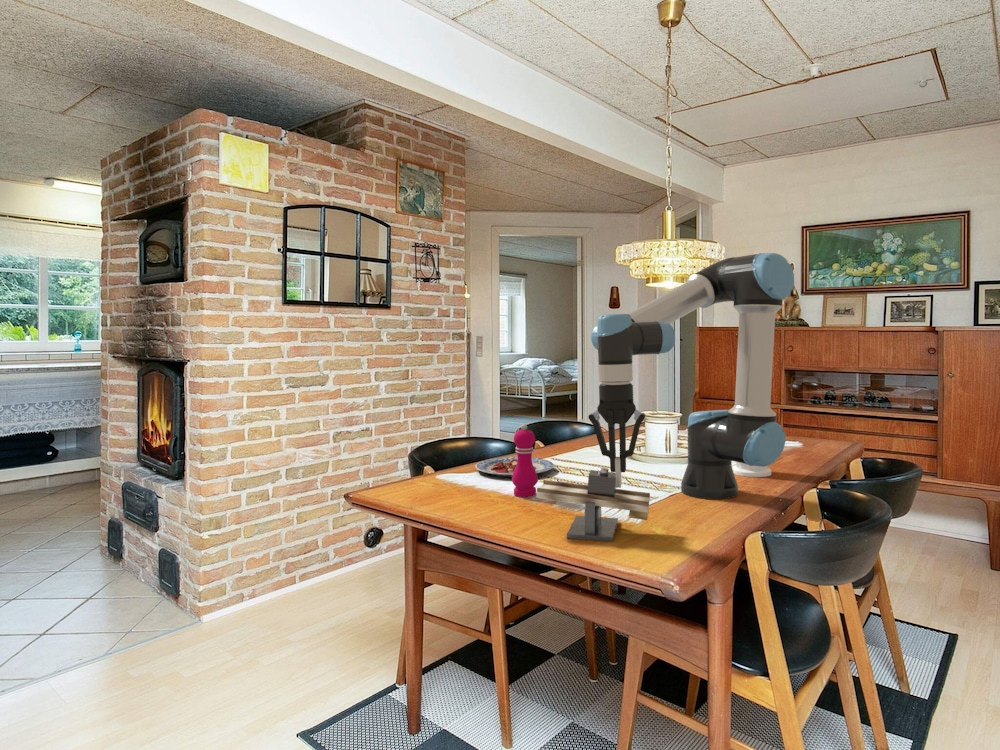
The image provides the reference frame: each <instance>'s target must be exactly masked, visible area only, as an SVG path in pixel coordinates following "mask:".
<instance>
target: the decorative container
mask: <svg viewBox="0 0 1000 750" xmlns="http://www.w3.org/2000/svg"><path fill="white" fill-rule="evenodd" d="M734 462H735V464H734V465H733V466H732V469H733V472H734V475H735V476H742V477H746V478H748V477H749V478H766V477H770V476H771V475H772V469H771V468H769V466H765V467H760V466H749V465H747V464H744V463H740V462H736V461H734Z"/></svg>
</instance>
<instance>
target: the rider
mask: <svg viewBox="0 0 1000 750" xmlns="http://www.w3.org/2000/svg"><path fill="white" fill-rule="evenodd" d="M587 479H588V481H587V485H588V491H587V494H592V495H600V496H608V497H615V492H616V489H617V488H616V475H615V472H611V471H610V469H609V468H607V467H598V468H597V470H593V469H591V470H590V471H589V474H588V478H587Z"/></svg>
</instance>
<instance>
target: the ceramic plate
mask: <svg viewBox="0 0 1000 750" xmlns="http://www.w3.org/2000/svg"><path fill="white" fill-rule="evenodd" d="M517 458H518V457H517V456H505V457H504V456H503V457H495V458H489V459H485V460H482V461H479V462H477V463H476V464H475V466H474V467H475V469H476V470H477V471H480V472H482V473H485V474H491V475H494V476H497V477H505V478H512V476H513V472H514V470H515V468H516V465H517ZM532 464H533V467H534V469H535V471H536V473H537V475H538V474H540V473H545V472H547V471H551V470H552V469H553V468H554V467H555V464H554V463H553V462H552V461H550V460H548V459H544V458H538V457H532Z"/></svg>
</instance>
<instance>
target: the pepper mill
mask: <svg viewBox="0 0 1000 750" xmlns="http://www.w3.org/2000/svg"><path fill="white" fill-rule="evenodd" d="M535 442H536V436H535V434H534V433H533V431H532V430H529V429H528V426H527V424H521V425H520V430H518V431H516V432H515V433H514V435H513V443H514V445H516V447H515V453H516V457H518V458H517V465H516V468H515V470H514V472H513V476H512V477H511V482H512V484H513V485H514V486H515V487H514V488H513V495H514V497H517V498H532V497H535V496H537V488H536V487H535V486H536V484H537V483H538V480H539V479H538V474H537V473H536V471H535V469H534V467H533V464H532V458H533V452H534V447H533V445H534V444H535Z"/></svg>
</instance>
